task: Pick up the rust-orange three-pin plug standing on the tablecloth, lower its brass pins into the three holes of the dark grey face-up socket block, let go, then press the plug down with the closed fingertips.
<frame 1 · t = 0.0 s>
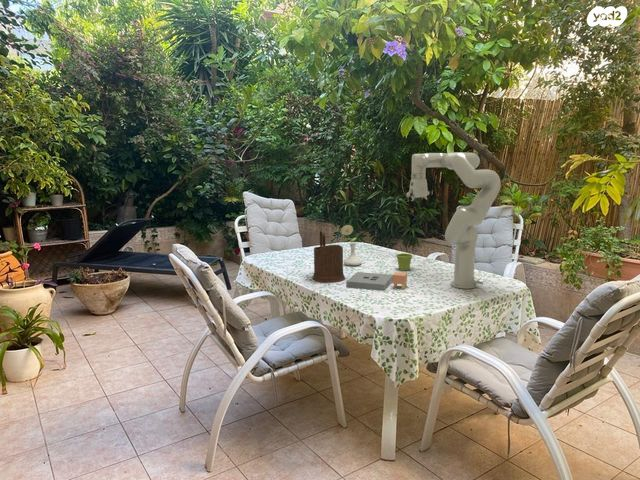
hand: (417, 207, 246), 37 cm above the table, tool pointing down, fingers open, 9 cm apart
socket: (370, 283, 233), on the table
plant pot: (404, 269, 261), on the table
plug: (399, 287, 225), on the table
flower in vase: (351, 265, 275), on the table
brown cylinder: (327, 277, 247), on the table
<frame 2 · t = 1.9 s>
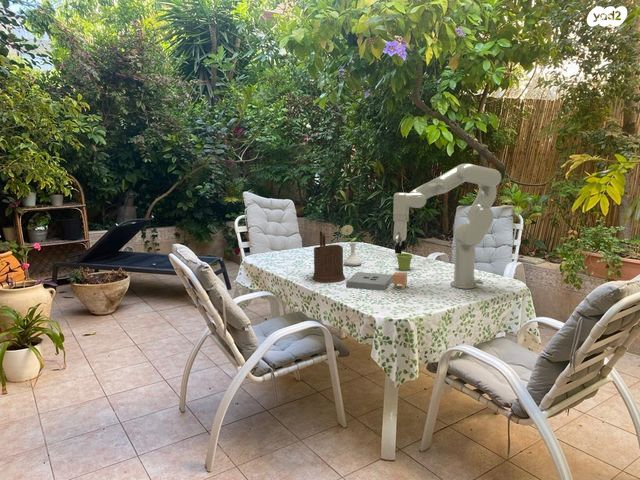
hand: (400, 251, 222), 18 cm above the table, tool pointing down, fingers open, 9 cm apart
nothing on the table moved.
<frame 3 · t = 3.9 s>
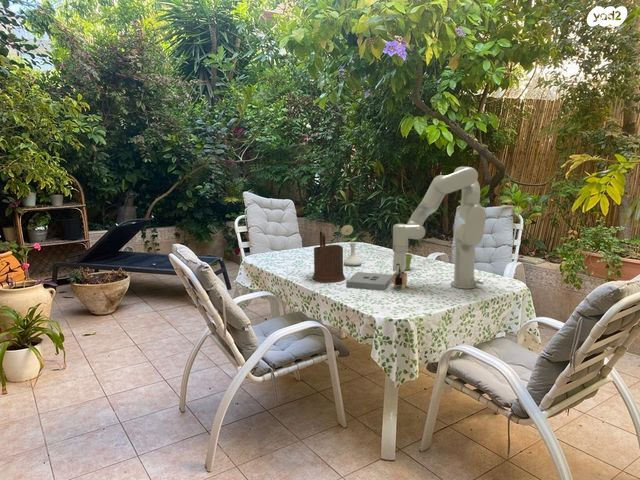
hand: (399, 283, 225), 2 cm above the table, tool pointing down, fingers closed on plug, 6 cm apart
plug: (399, 287, 225), on the table, touching gripper
everything else where it was.
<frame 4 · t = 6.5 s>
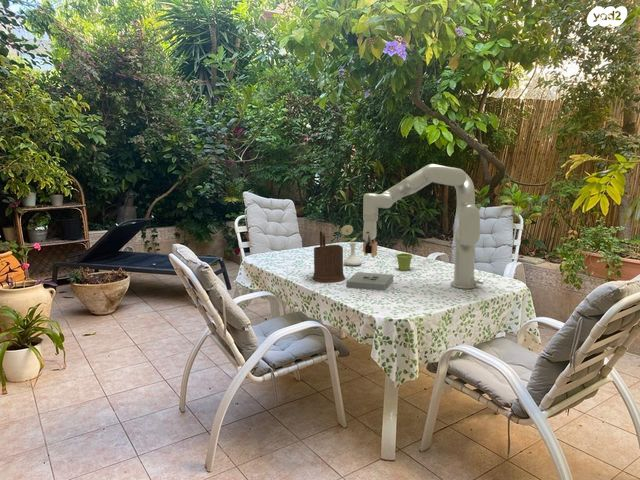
hand: (370, 251, 230), 17 cm above the table, tool pointing down, fingers closed on plug, 6 cm apart
plug: (370, 255, 230), point 15 cm above the table, touching gripper
everything else where it was.
when the fingers open (3 cm above the table, at t = 9.0 s): plug stays where it is, resting on socket.
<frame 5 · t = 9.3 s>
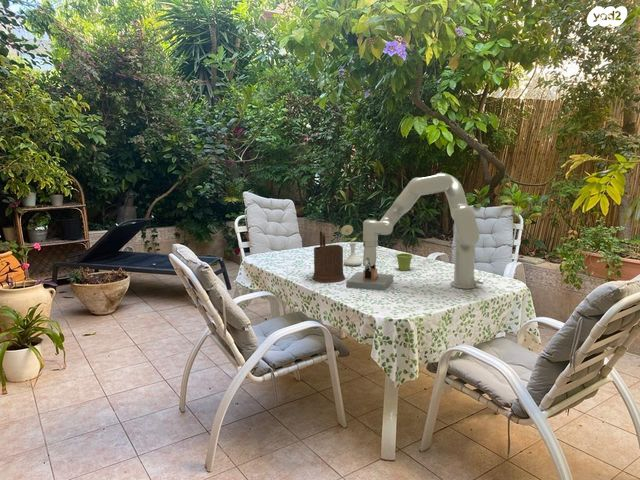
hand: (370, 276, 232), 4 cm above the table, tool pointing down, fingers open, 8 cm apart
plug: (370, 282, 233), resting on socket
everything else where it was.
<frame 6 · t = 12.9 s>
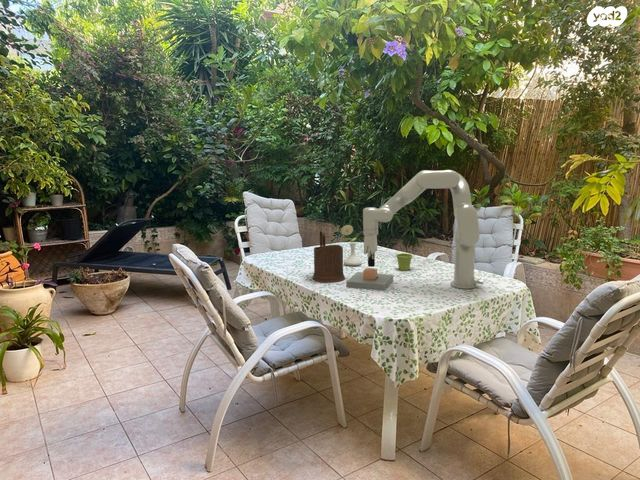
hand: (371, 266, 231), 9 cm above the table, tool pointing down, fingers closed
nothing on the table moved.
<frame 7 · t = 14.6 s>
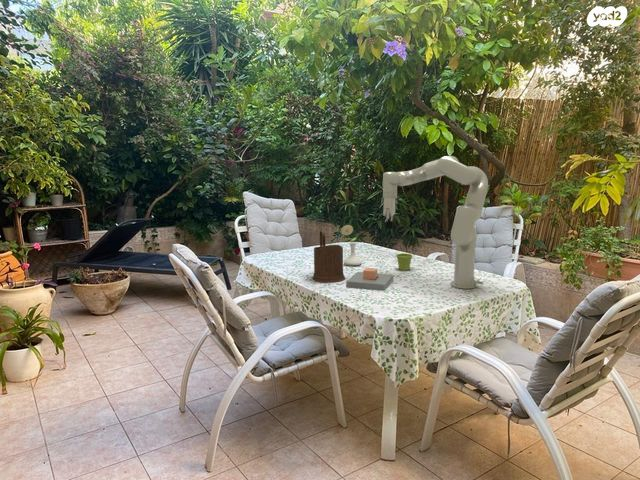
hand: (389, 228, 244), 27 cm above the table, tool pointing down, fingers closed
nothing on the table moved.
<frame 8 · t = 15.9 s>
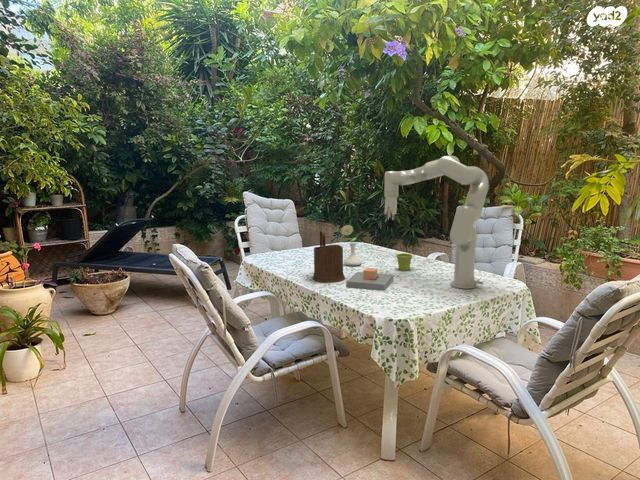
hand: (391, 227, 245), 27 cm above the table, tool pointing down, fingers closed
nothing on the table moved.
at the end: plug 0.0 cm off-centre on the socket, point 0.5 cm above the socket's base; plug tilted 0°; the gripper is holding nothing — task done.
